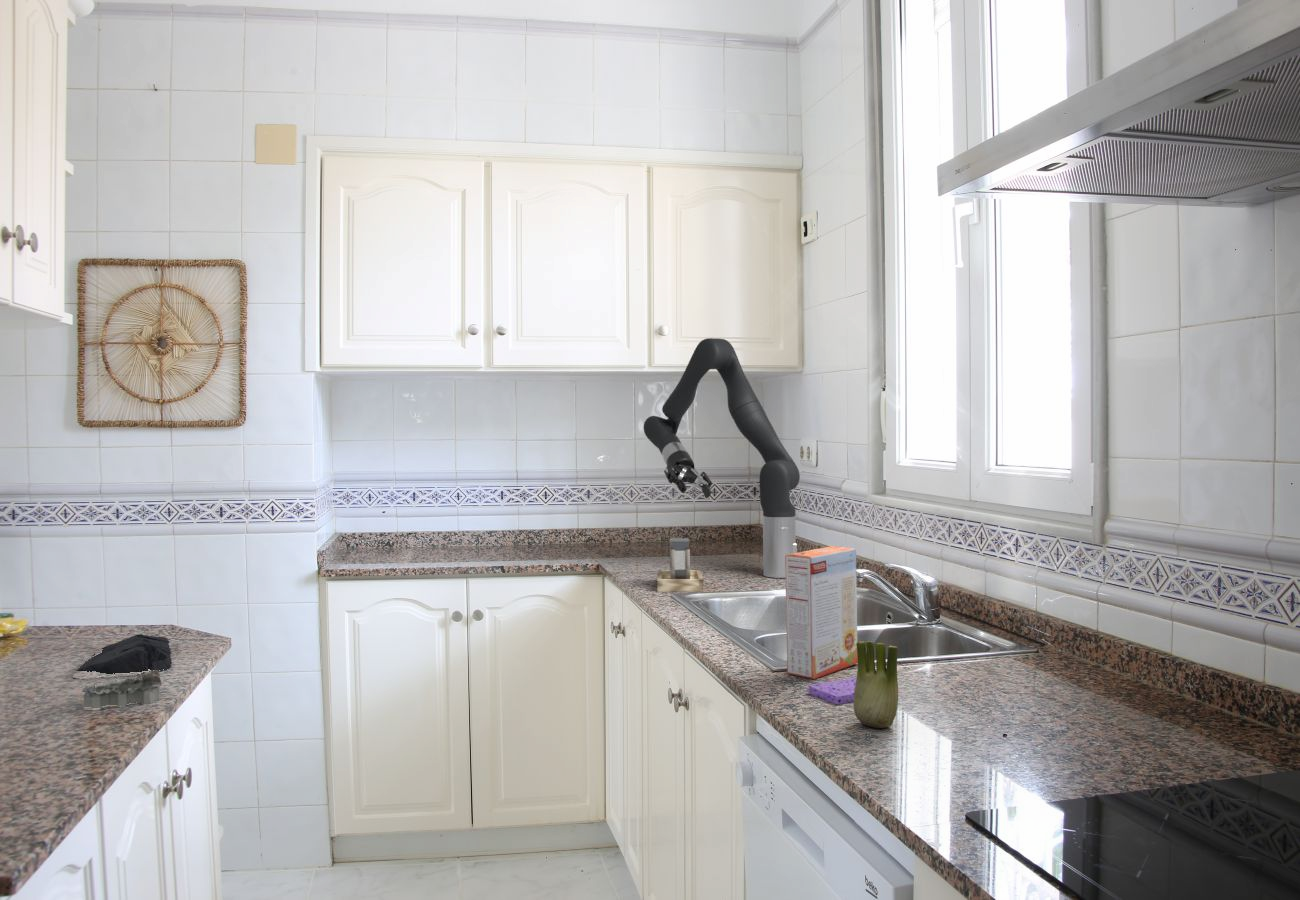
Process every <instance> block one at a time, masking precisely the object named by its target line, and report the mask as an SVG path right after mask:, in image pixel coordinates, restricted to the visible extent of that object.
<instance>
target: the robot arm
mask: <svg viewBox="0 0 1300 900" xmlns="http://www.w3.org/2000/svg"><path fill="white" fill-rule="evenodd" d="M710 370H716V371H717V372H718V374H719V375H720V377H721V379H722V381H723V382H724V385H725V386H726V393H727V394H726V395H727V407H728V412H729V413H730V416H731V418H732V419H733V422H734V423H735V425H736V428H737V429H738V431H739V432H740V433H741V435H743V437H744V438H745V439H747V441H748V442H749V443H750V444H751V445H752V446H753V447H754V448H755V449H756V450H757V452H759V454H760V455H761V458H762V459H763V460H764V464H763V465H762V467H761V469H760V473H759V480H758V481H759V500H760V506H761V508H762V522H763V523H762V528H763V529H762V539H763V540H762V544H763V545H762V548H763V550H762V551H763V553H762V557H763V559H762V561H763V563H762V565H763V566H762V567H763V568H762V570H763V572H762V573H763V576H764V577H767V578H776V579H777V578H778V579H781V578H782V579H784V578H785V555H787V554H792V553H798V543H797V541H796V540H797V539H796V536H797V535H796V533H797V532H796V525H797V524H796V518H797V517H796V506H795V505H794V504H793V503H792V501H791V498H790V491H792V490H794V489H795V488H797V487H798V485H799V483H800V479H801V478H800V475H801V474H800V471H799V468H798V466H797V464H796V463H795V460H793V458H792V456H790V453H789V452H788V451H787V450H786V448H785V447H784V445H783V443H782V442H781V440H780V439H779V436H778V435H777V433H776V431H775V429H774V427H773V425H772V423H771V421H770V420H769V417H768V416H767V413H766V411H765V409H764V408H763V406H762V404H761V402H760V401H759V398H758V397H757V395H756V394H755V391H754V390H753V387H752V385H751V384H750V382H749V379H748V378H747V376H746V374H745V373H744V372H745V371H744V370H743V367H742V365H741V363H740V360H739V358H738V355H737V353H736V351H735V348H734V347H733V345H732V344H731V343H730V342H729V340H727V339H725V338H715V337H714V338H713V337H710V338H704V339H702V340H700V342H699V343H698V344H697V345H696V347H695V349H694V350H693V353H692V355H691V357H690V359H689V361H688V363H687V365H686V368H685V370H684V372H683V373H682V376H681V377H680V379H679V381H678V383H677V385H676V386H675V388H674V389H673V391H672V392H671V393H670V395H669V396H668V398H667V399H666V400H665V402H664V404H663V405H662V407H661V408H662V409H661V410H662V413H663V414H664V416H665V417H667V418H665V417H661V416H656V415H651V416H648V417H647V418H646V419H645V420H644V423H643V432H644V435H645V437H646V438H647V439H648V441H650V442H651V443H652V445H654V446H655V447H656V448H657V449H658V450H659V453H660V454H661V457H663V458H662V459H663V462H664V463H665V464H666V467H665V469H664V471H663V472H664V474H665V477H666V479H667V481H668V483H670V484H674V485H675V486H676V487H677V489H678V490H679V491H680V493H681V494H685V493H686V491H687V489H688V486H687V485H686V483H688V484H691V485H692V486H694V487H695V488H699V489H700V490H701V491H702V493H703V495H704V496H705V498H709V497H711V494H712V490H711V489H710V488H711V487H712V485H713V482H712V481H711V478H709V476H708V474H707V473H706V472H705V471H701V473H699V472H698V471H697V470H696V469H695V468H696V467H695V462H694V460H693V459H692V457H691V455H690V453H689V452H688V451H687V448H685V447H684V445H683V443H682V441H681V440H680V439H679V437H678V436H677V433H678V430H679V428H680V424H681V422H682V419H683V417H684V416H685V414H686V413H687V411H688V410H689V408H691V406H692V404H693V402H694V400H695V397H696V395H697V389H698V386H699V384H700V382H701V380H702V379H703V377H704V376H705V375H706V374H707V373H708V372H709V371H710ZM696 480H697V481H696ZM785 579H786V578H785Z"/></svg>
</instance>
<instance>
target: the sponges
mask: <svg viewBox="0 0 1300 900" xmlns="http://www.w3.org/2000/svg"><path fill="white" fill-rule="evenodd" d="M856 678H857V676H856V677H852V678H850V677H849V678H846V679H839V680H834V681H826V682H820V683H814V684H813V683H812V684H808V694H809V695H811V696H815V697H817V698H819V699H823V700H825V701H828V702H830V703H833V704H836V705H842V704H847V703H851V702H854V690H855V684H856Z"/></svg>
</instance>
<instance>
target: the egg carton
mask: <svg viewBox="0 0 1300 900" xmlns="http://www.w3.org/2000/svg"><path fill="white" fill-rule="evenodd" d="M162 686H163V683H162V680H161V671H159V670H154V671H153V670H151V671H149V672H143V673H141V674H138V675H136V677H127V678H126V679H125V680H121V681H112V682H108V683H103V684H102V685H98V686H96V685H95V684H92V685H85V686H84V688H83V689H82V693H84V695H83V696H82V698H83V708H84V707H91V708H100V707H102V706H106V705H117V706H126V705H127V704H129V703H136V702H137V703H143V704H146V705H151V704H153V703H155V702H159V701H160V699H161V697H160V695H161V687H162ZM152 702H153V703H152ZM143 704H142V705H143ZM126 707H127V706H126Z"/></svg>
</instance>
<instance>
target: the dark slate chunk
mask: <svg viewBox="0 0 1300 900" xmlns="http://www.w3.org/2000/svg"><path fill="white" fill-rule="evenodd" d="M169 643H170V641H169V639H168V637H165V636H156V635H155V636H154V635H147V634H145V635H144V634H141V633H139V634H136V635H132V636H130V637H126V638H125V639H122V640H119V641H116V642H114V643H111V644H108V645H106V646H103V647H101V649H103V650H102V653H100V654H98V655H96V656H94V657H92V656H91V657H92V658H91V657H90V658H91V659H90V658H89V659H87V660H88V661H87V660H86V661H84V662H85V663H84V662H83V663H84V664H83V663H82V664H83V665H82V664H81V665H82V666H81V665H80V666H79V667H80V668H78V669H77V670H76V671H87V672H89V671H90V672H92V671H96V672H100V673H106V674H113V673H114V674H115V673H130V672H142V671H148V669H150V670H163V669H164V670H166V669H169V668H170V669H171V667H172V664H173V662H172V657H171V654H172V651H171V648H170V644H169ZM170 669H169V670H170ZM166 671H167V670H166Z"/></svg>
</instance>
